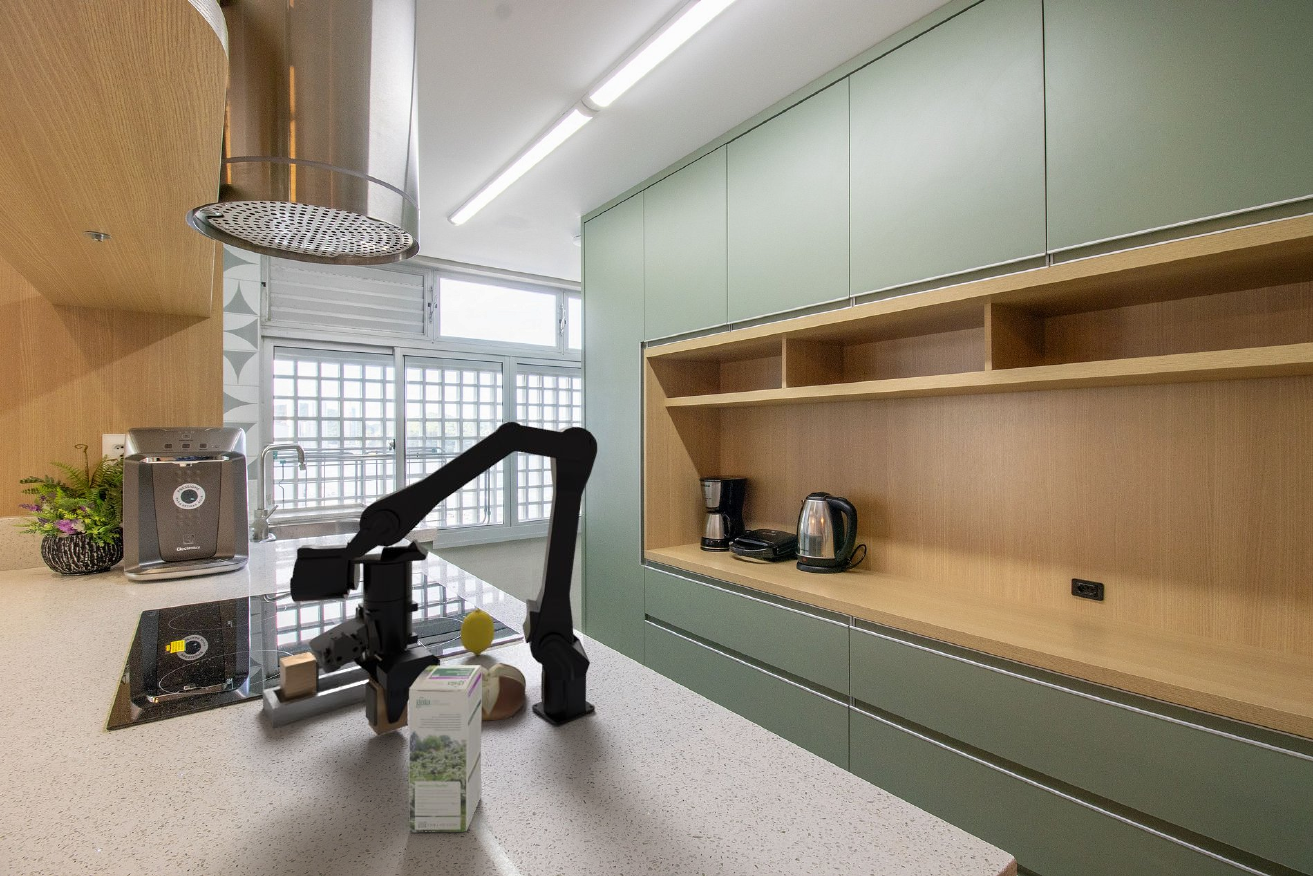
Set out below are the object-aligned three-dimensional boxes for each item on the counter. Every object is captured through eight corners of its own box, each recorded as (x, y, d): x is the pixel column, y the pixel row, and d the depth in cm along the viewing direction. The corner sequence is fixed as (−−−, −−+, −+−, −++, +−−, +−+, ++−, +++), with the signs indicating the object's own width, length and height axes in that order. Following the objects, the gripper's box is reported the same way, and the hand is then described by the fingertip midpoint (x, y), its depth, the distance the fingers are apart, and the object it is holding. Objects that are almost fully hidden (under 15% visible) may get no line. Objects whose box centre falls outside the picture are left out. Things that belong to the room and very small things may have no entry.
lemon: (473, 664, 95) (473, 616, 95) (453, 656, 99) (454, 609, 98) (500, 654, 100) (501, 608, 99) (481, 646, 103) (481, 602, 103)
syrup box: (483, 796, 62) (483, 662, 61) (466, 835, 56) (467, 687, 55) (429, 797, 61) (429, 662, 61) (406, 836, 55) (407, 687, 55)
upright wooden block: (407, 725, 74) (407, 679, 73) (374, 736, 71) (374, 688, 71) (397, 715, 76) (397, 670, 76) (365, 725, 73) (365, 679, 73)
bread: (528, 685, 88) (528, 653, 88) (522, 723, 77) (522, 686, 77) (453, 689, 87) (453, 656, 87) (435, 729, 76) (436, 691, 75)
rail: (420, 684, 88) (420, 638, 88) (273, 727, 75) (273, 674, 75) (403, 669, 93) (403, 626, 93) (263, 708, 80) (262, 658, 80)
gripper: (298, 591, 75) (298, 711, 75) (339, 629, 61) (339, 775, 61) (388, 577, 82) (388, 685, 83) (442, 607, 69) (442, 737, 69)
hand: (388, 716), depth 74 cm, fingers closed on upright wooden block, 4 cm apart
